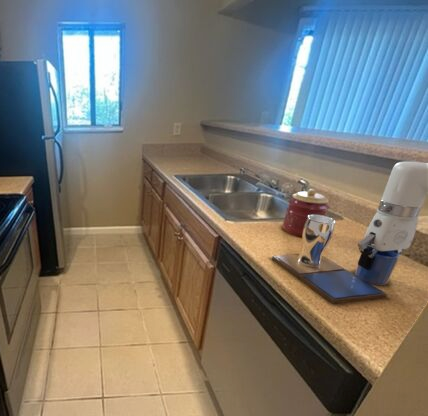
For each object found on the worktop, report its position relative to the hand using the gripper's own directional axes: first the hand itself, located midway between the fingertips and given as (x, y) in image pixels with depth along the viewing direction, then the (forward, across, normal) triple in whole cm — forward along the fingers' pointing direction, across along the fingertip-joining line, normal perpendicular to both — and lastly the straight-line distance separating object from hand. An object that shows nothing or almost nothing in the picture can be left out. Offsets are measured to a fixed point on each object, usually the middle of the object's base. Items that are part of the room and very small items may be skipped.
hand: (375, 265), depth 79 cm
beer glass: (+3, -13, +8) cm, 16 cm away
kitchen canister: (+4, +5, +31) cm, 32 cm away
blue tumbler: (+4, 0, 0) cm, 4 cm away
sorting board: (+4, -13, +3) cm, 14 cm away
